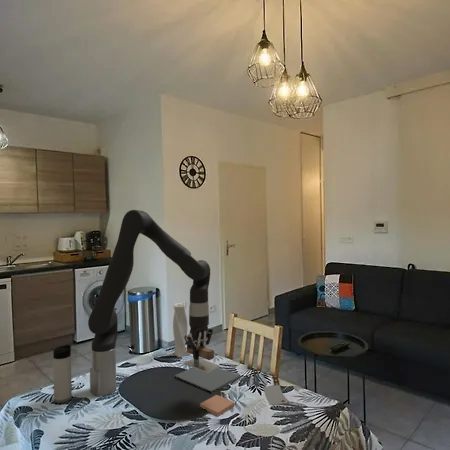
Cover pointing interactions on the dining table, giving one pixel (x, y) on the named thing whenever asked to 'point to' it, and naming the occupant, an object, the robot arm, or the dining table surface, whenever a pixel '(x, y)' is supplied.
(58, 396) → the travel mug
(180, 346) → the skyscraper
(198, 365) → the plastering trowel
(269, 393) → the kitchen cleaver
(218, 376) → the mat
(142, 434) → the dining table surface
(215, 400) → the tile
